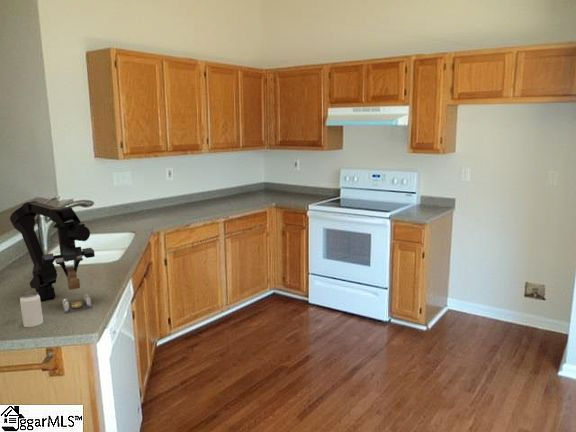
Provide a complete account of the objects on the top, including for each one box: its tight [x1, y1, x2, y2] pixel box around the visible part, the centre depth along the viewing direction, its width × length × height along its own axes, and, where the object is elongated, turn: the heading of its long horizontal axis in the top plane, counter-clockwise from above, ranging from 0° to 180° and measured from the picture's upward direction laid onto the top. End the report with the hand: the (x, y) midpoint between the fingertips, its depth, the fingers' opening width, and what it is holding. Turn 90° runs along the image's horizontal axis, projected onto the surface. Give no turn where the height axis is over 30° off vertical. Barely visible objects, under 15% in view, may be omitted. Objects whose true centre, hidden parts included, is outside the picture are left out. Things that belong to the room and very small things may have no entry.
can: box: [19, 290, 44, 328], centre depth 170 cm, size 6×6×12 cm
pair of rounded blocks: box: [61, 293, 92, 314], centre depth 184 cm, size 10×6×4 cm, turn 122°
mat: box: [61, 299, 93, 315], centre depth 187 cm, size 10×12×1 cm
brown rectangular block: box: [66, 265, 81, 291], centre depth 184 cm, size 12×4×6 cm, turn 31°
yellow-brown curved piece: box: [71, 301, 83, 309], centre depth 185 cm, size 4×4×2 cm
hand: (71, 276), depth 186 cm, fingers closed on brown rectangular block, 2 cm apart
